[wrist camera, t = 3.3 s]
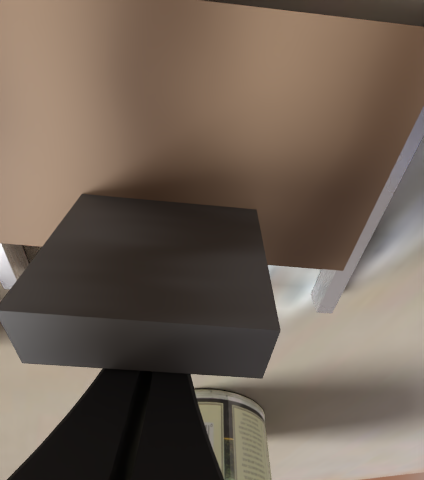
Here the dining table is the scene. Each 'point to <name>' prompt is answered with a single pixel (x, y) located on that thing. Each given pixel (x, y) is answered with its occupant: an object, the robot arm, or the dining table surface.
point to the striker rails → (329, 281)
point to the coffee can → (236, 434)
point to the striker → (186, 170)
